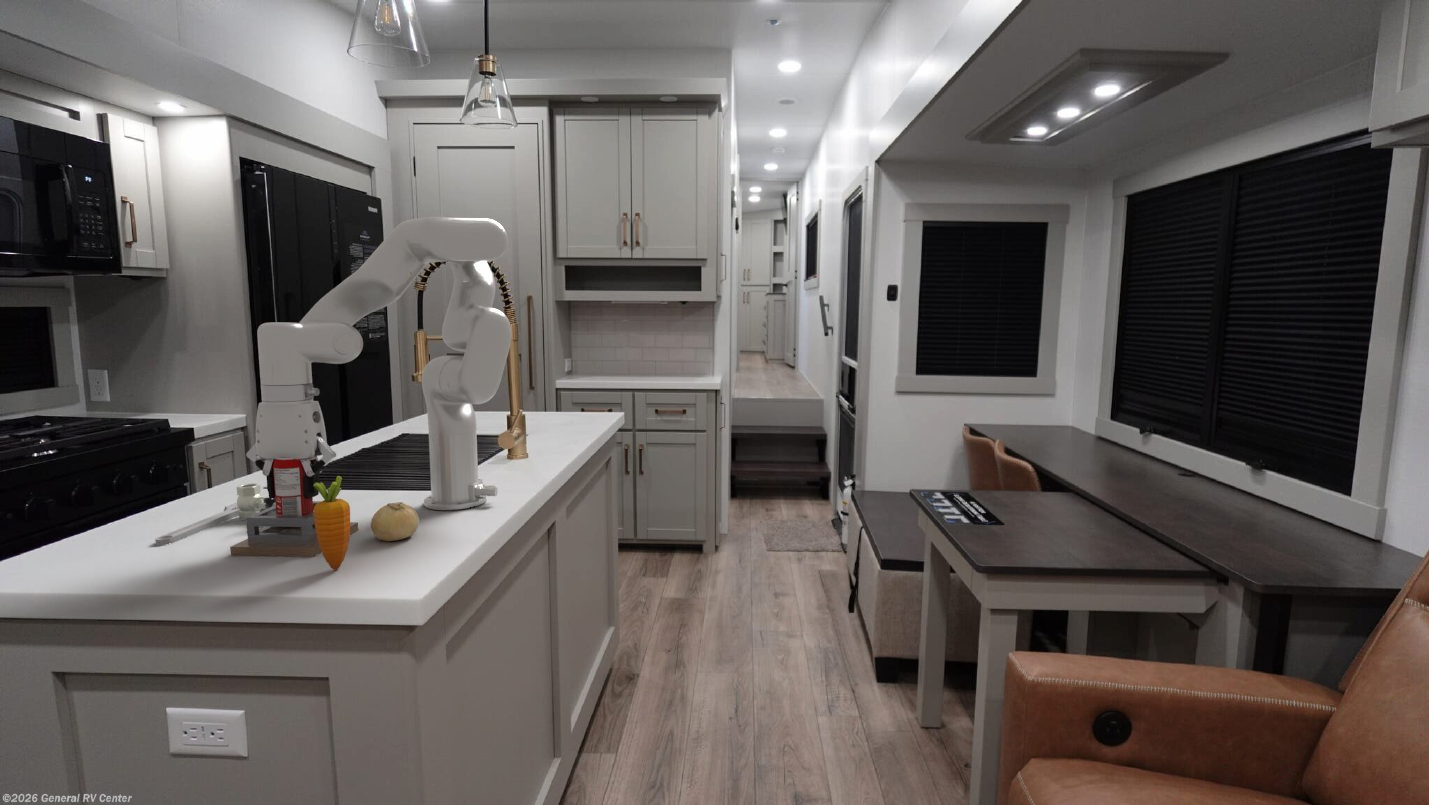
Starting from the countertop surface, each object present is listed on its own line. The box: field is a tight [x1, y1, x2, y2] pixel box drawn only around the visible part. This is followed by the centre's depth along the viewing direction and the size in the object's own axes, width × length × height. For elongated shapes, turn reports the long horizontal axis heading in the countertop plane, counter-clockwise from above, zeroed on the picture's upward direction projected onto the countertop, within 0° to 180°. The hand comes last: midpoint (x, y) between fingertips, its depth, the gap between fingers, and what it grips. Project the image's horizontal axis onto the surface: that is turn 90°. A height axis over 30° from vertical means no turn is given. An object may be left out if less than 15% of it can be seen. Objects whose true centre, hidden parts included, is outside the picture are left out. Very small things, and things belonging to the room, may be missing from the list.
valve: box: [236, 483, 276, 521], centre depth 133 cm, size 7×7×12 cm
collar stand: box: [229, 500, 359, 557], centre depth 120 cm, size 14×14×6 cm
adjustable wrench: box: [154, 502, 240, 546], centre depth 131 cm, size 25×6×2 cm, turn 174°
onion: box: [370, 501, 420, 542], centre depth 123 cm, size 8×8×7 cm
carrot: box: [313, 475, 351, 571], centre depth 106 cm, size 5×5×15 cm
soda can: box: [273, 457, 314, 516], centre depth 119 cm, size 6×6×12 cm
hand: (294, 495), depth 119 cm, fingers closed on soda can, 5 cm apart
